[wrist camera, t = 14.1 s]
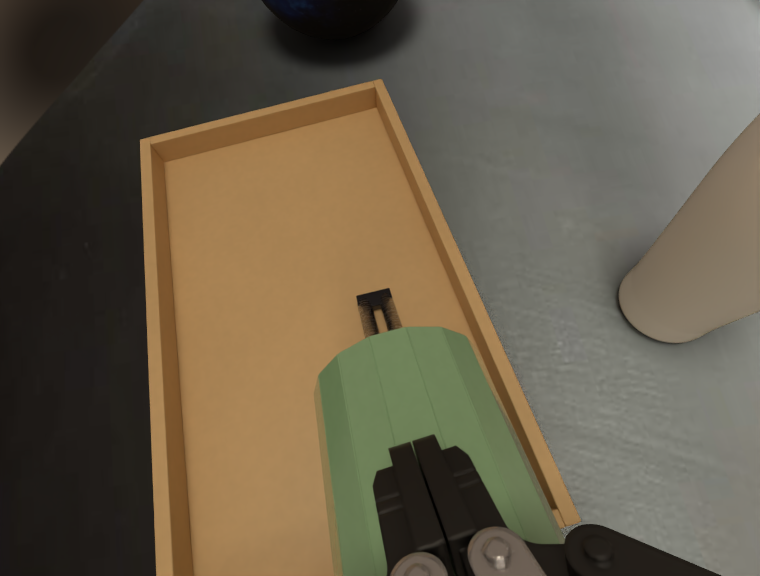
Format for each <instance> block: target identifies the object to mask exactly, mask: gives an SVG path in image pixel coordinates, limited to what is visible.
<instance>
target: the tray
mask: <svg viewBox="0 0 760 576" xmlns="http://www.w3.org/2000/svg"><path fill="white" fill-rule="evenodd" d="M140 154H141V180H142V206H143V233H144V259H145V286H146V312H147V338H148V365H149V391H150V417H151V444H152V470H153V497H154V523H155V549H156V576H334V571H333V562H332V553H331V544H330V535H329V527H328V518H327V509H326V500H325V491H324V482H323V473H322V464H321V455H320V446H319V437H318V428H317V420H316V411H315V402H314V390H315V386H316V382H317V378H318V375H319V373H320V372H321V371H322V370H323V369H324V368H325V367H326V366H327V365H328V363H329V362H330V361H331V360H332V359H333V358H334V357H335V356H336V355H337V354H338V353H340V352H341V351H343V350H345V349H347V348H349V347H351V346H352V345H354V344H356V343H358V342H360V341H361V340H363V339H365V336H364V332H363V327H362V323H361V319H360V315H359V310H358V306H357V299H356V296H357V295H361V294H365V293H369V292H374V291H378V290H382V289H386V288H390V291H391V294H392V297H393V300H394V303H395V306H396V309H397V312H398V315H399V318H400V321H401V324H402V327H443V328H446V329H449V330H452V331H455V332H458V333H461V334H463V335H465V336H467V337H468V339H469V340H470V341H471V342H472V344H473V345H474V346H475V347H476V349H477V350H478V352H479V354H480V356H481V358H482V360H483V362H484V365H485V367H486V369H487V371H488V373H489V375H490V378H491V380H492V382H493V384H494V386H495V388H496V391H497V393H498V395H499V397H500V399H501V401H502V404H503V406H504V408H505V410H506V412H507V414H508V417H509V419H510V421H511V423H512V425H513V428H514V430H515V432H516V434H517V436H518V438H519V441H520V443H521V445H522V447H523V449H524V451H525V454H526V456H527V458H528V460H529V462H530V464H531V467H532V469H533V471H534V473H535V475H536V477H537V480H538V482H539V484H540V486H541V488H542V490H543V493H544V495H545V497H546V499H547V501H548V504H549V506H550V508H551V510H552V512H553V514H554V517H555V519H556V521H557V523H558V525H559V527H560V529H561V528H564V527H565V526H570V525H573V524H576V523H579V522H580V521H581V520H580V517H579V515H578V513H577V511H576V508H575V506H574V504H573V502H572V500H571V497H570V495H569V493H568V491H567V488H566V486H565V484H564V482H563V480H562V477H561V475H560V473H559V471H558V469H557V466H556V464H555V462H554V460H553V457H552V455H551V453H550V451H549V449H548V446H547V444H546V442H545V440H544V438H543V435H542V433H541V431H540V429H539V426H538V424H537V422H536V420H535V418H534V415H533V413H532V411H531V409H530V406H529V404H528V402H527V400H526V398H525V395H524V393H523V391H522V389H521V387H520V384H519V382H518V380H517V378H516V375H515V373H514V371H513V369H512V367H511V364H510V362H509V360H508V358H507V356H506V353H505V351H504V349H503V347H502V344H501V342H500V340H499V338H498V336H497V333H496V331H495V329H494V327H493V325H492V322H491V320H490V318H489V316H488V313H487V311H486V309H485V307H484V305H483V302H482V300H481V298H480V296H479V293H478V291H477V289H476V287H475V285H474V282H473V280H472V278H471V276H470V274H469V271H468V269H467V267H466V265H465V262H464V260H463V258H462V256H461V254H460V251H459V249H458V247H457V245H456V243H455V240H454V238H453V236H452V234H451V231H450V229H449V227H448V225H447V223H446V220H445V218H444V216H443V214H442V211H441V209H440V207H439V205H438V203H437V200H436V198H435V196H434V194H433V192H432V189H431V187H430V185H429V183H428V180H427V178H426V176H425V174H424V172H423V169H422V167H421V165H420V163H419V161H418V158H417V156H416V154H415V152H414V149H413V147H412V145H411V143H410V141H409V138H408V136H407V134H406V132H405V130H404V127H403V125H402V123H401V121H400V118H399V116H398V114H397V112H396V110H395V107H394V105H393V103H392V101H391V98H390V96H389V94H388V92H387V90H386V87H385V85H384V83H383V81H382V79H378V80H374V81H373V82H372V81H370V82H366V83H362V84H358V85H354V86H350V87H346V88H342V89H338V90H335V91H331V92H327V93H323V94H319V95H315V96H311V97H307V98H303V99H299V100H295V101H291V102H287V103H283V104H279V105H275V106H271V107H267V108H263V109H260V110H256V111H252V112H248V113H244V114H240V115H236V116H232V117H228V118H224V119H220V120H216V121H212V122H208V123H204V124H200V125H196V126H192V127H188V128H185V129H181V130H177V131H173V132H169V133H165V134H161V135H157V136H153V137H150V138H145V139H141V140H140ZM373 311H374V314H375V318H376V322H377V325H378V329H379V333H384V332H387V331H388V330H387V327H386V323H385V320H384V316H383V313H382V310H381V309H377V310H373Z"/></svg>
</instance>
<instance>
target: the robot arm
mask: <svg viewBox="0 0 760 576" xmlns="http://www.w3.org/2000/svg"><path fill="white" fill-rule="evenodd" d="M412 443H413V447H414V450H415V453H414V450H413V448H412V445H411V442H407V443H404V444H401V445H397V446H394V447H391V448H388V450H389V453H390V457H391V461H392V465H393V466H391V467H388V468H385V469H381V470H378V471H376V475H375V478H374V482H373V486H372V487H373V492H374V498H375V502H376V508H377V514H378V519H379V525H380V530H381V535H382V541H383V546H384V551H385V557H386V562H387V576H721V575H719V574H716V573H714V572H712V571H709V570H707V569H704V568H702V567H700V566H697V565H695V564H693V563H690V562H688V561H685V560H683V559H681V558H678V557H676V556H674V555H671V554H669V553H666V552H664V551H662V550H659V549H657V548H654V547H652V546H650V545H647V544H645V543H643V542H640V541H638V540H635V539H633V538H631V537H628V536H626V535H624V534H621V533H619V532H616V531H614V530H612V529H609V528H607V527H604V526H600V525H594V524H586V525H581V526H578V527H576V528H574V529H573V530H571V531H570V532H569V533H568V535H567V536H566V539H565V542H564V544H537V543H532V542H529V541H526V540H524V539H522V538H521V537H520V536H519V535H518V534H516V533H515V532H513V531H512V530H510V529H509V528H508V527H507V525H506V524H505V522H504V520H503V518H502V517H501V515H500V513H499V511H498V509H497V507H496V505H495V503H494V502H493V500H492V498H491V496H490V494H489V492H488V490H487V488H486V487H485V485H484V483H483V482H482V479H481V477H480V475H479V473H478V472H477V471H476V468H475V466H474V464H473V462H472V460H471V458H470V457H469V455H468V454H467V453H465V452H464V451H463V450H461V449H460V448H459V447H457V446H453V447H450V448H447V449H443V450H441V447H440V445H439V443H438V441H437V438H436V436H435V435H434V434H432V435H429V436H426V437H423V438H420V439H416V440H413V441H412ZM415 454H416V456H415ZM416 458H417V459H416ZM417 461H418V462H417ZM454 574H455V575H454Z"/></svg>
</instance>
